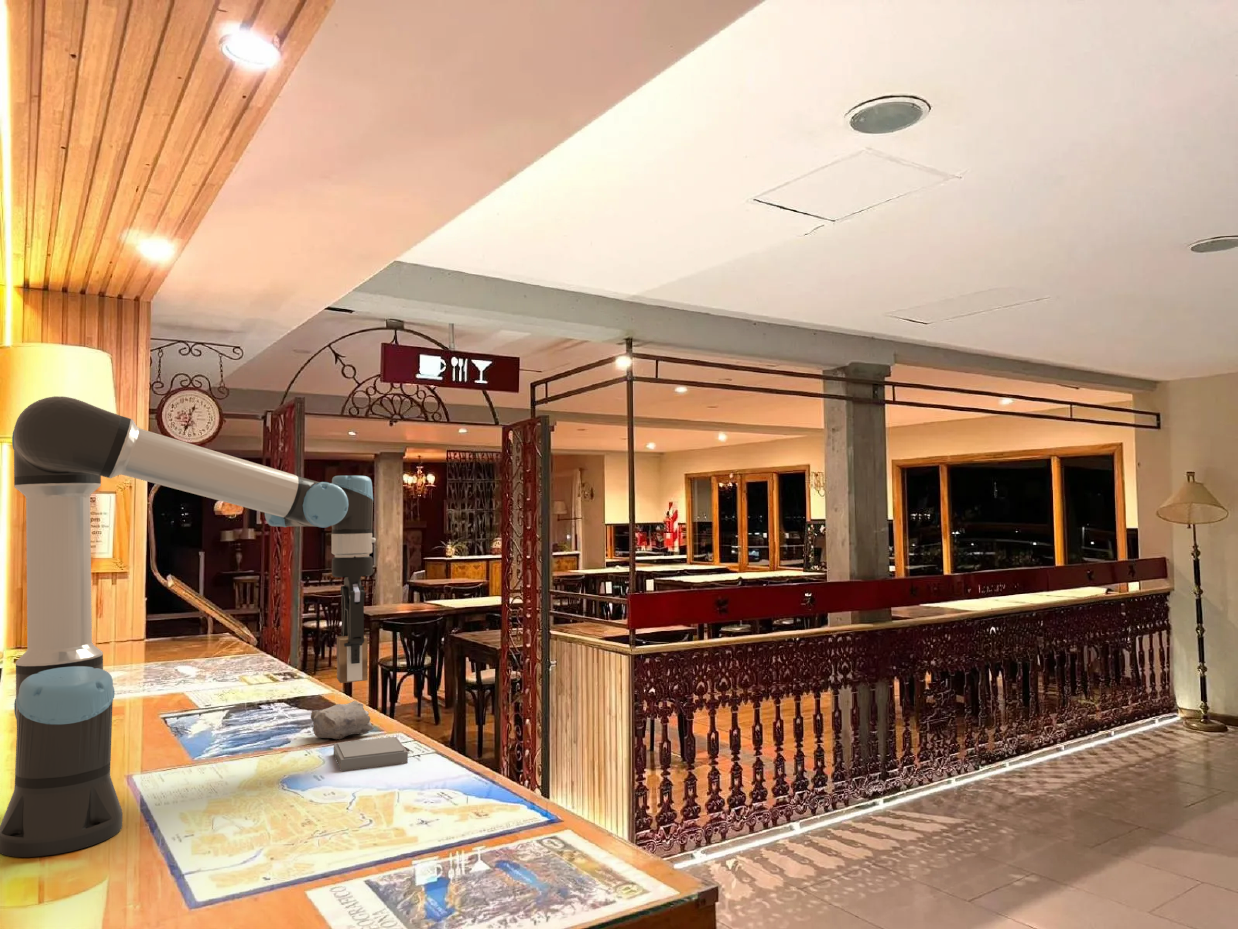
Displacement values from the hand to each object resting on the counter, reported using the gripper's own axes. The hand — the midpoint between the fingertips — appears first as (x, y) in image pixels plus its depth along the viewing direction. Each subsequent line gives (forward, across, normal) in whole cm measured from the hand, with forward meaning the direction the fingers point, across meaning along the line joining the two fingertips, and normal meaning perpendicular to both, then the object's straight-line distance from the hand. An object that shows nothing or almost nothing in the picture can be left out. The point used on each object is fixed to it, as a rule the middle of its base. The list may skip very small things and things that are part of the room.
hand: (352, 677), depth 161 cm
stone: (+16, +19, 0) cm, 25 cm away
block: (0, 0, 0) cm, 0 cm away
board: (+16, 0, -3) cm, 16 cm away
